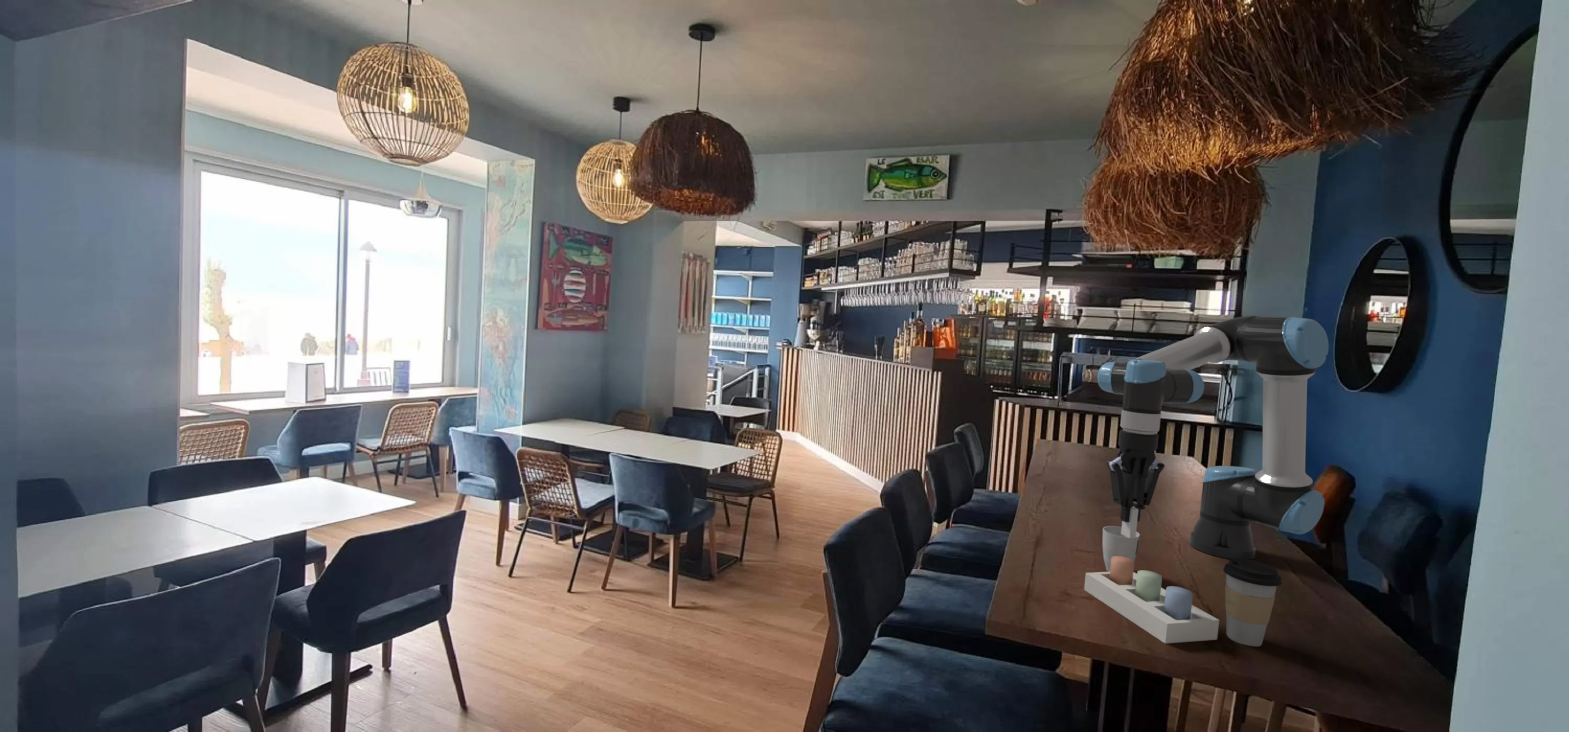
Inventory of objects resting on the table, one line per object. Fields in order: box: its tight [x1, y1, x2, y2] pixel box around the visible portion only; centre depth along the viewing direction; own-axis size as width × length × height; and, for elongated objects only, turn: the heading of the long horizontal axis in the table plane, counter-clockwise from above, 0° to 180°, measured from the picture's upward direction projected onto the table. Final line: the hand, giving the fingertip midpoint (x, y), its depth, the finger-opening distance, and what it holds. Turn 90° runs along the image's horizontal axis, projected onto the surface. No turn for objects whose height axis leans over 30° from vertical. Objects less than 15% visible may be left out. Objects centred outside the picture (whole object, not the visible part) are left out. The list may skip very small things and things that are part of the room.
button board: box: [1083, 571, 1220, 644], centre depth 140 cm, size 12×24×4 cm, turn 12°
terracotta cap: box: [1109, 556, 1135, 585], centre depth 148 cm, size 5×5×5 cm
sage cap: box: [1135, 569, 1163, 602], centre depth 140 cm, size 5×5×5 cm
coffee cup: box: [1222, 559, 1283, 647], centre depth 130 cm, size 9×9×15 cm
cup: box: [1102, 525, 1141, 572], centre depth 163 cm, size 8×8×10 cm
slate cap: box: [1164, 585, 1194, 620], centre depth 132 cm, size 5×5×5 cm
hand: (1128, 535), depth 146 cm, fingers closed
